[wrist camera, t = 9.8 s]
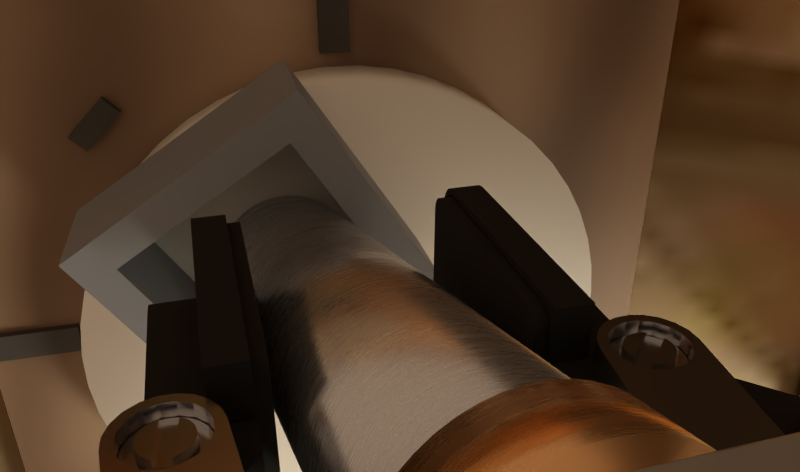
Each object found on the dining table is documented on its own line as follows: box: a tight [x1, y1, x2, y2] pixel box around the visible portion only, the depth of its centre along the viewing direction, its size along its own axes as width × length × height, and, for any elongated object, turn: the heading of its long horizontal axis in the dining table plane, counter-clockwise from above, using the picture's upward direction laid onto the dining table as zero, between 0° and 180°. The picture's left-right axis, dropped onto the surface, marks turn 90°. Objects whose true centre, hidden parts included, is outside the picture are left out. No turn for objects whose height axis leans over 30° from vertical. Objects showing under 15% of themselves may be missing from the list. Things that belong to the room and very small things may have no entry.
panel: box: [0, 0, 680, 472], centre depth 21 cm, size 18×18×1 cm
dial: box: [58, 59, 591, 472], centre depth 18 cm, size 13×13×4 cm
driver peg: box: [235, 195, 717, 472], centre depth 11 cm, size 3×3×11 cm
